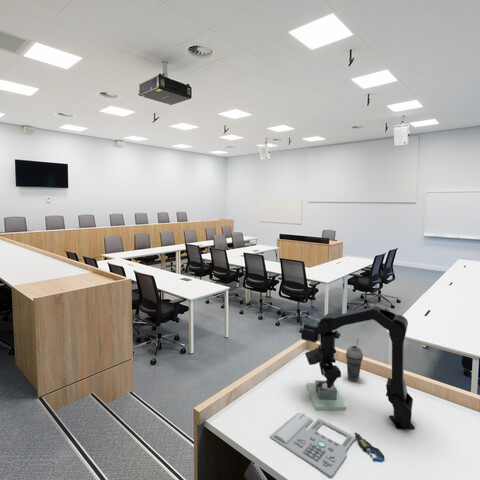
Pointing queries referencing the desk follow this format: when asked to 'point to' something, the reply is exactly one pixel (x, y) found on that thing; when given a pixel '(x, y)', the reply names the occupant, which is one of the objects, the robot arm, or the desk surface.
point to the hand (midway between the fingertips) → (325, 381)
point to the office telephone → (313, 443)
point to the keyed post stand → (325, 404)
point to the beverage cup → (354, 362)
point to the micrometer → (369, 448)
